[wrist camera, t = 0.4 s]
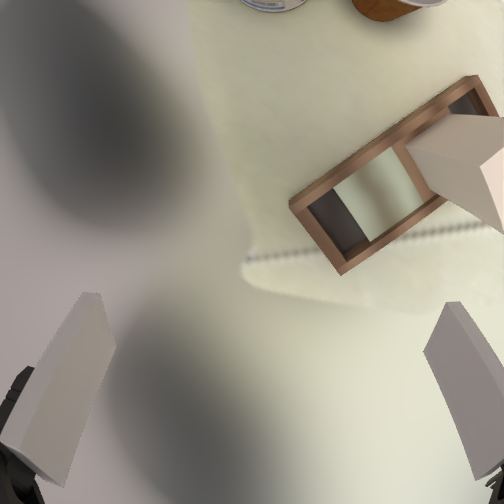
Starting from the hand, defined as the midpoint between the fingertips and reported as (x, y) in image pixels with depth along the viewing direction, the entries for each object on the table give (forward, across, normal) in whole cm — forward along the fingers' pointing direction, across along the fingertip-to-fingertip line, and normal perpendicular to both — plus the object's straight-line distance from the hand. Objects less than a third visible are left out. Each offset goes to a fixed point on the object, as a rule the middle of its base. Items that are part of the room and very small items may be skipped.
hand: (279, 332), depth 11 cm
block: (+23, +20, +4) cm, 31 cm away
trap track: (+25, +17, +1) cm, 30 cm away
